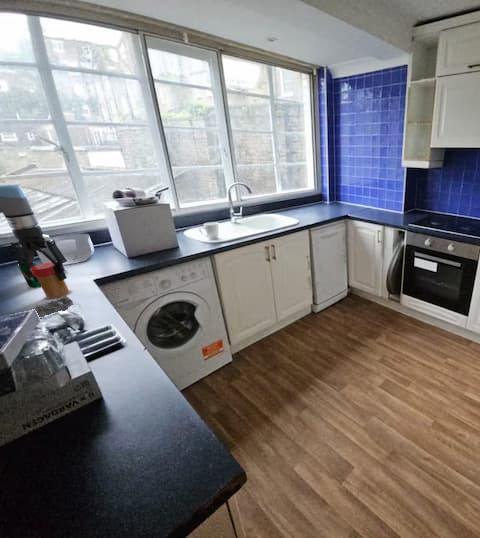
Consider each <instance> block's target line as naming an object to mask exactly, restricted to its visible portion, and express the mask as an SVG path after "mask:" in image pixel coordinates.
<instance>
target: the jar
mask: <svg viewBox="0 0 480 538" xmlns="http://www.w3.org/2000/svg"><path fill="white" fill-rule="evenodd" d="M37 279H38V281H39V283H40V285H41V286H40V287H41V289H42V291H43V293H44V295H45V297H46V299H48V300H54V299H55V300H56V299H60V298H62V297H64V296H68V295H69V294H70V293H71V292H70V290H69V288H68V286H67V283H66V281H65V279H64V280H63V281H60V280H59V278H58V276H57V274H56V273H55V274H51V275H47V276H41V277H37Z"/></svg>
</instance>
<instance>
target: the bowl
mask: <svg viewBox="0 0 480 538" xmlns="http://www.w3.org/2000/svg"><path fill="white" fill-rule="evenodd" d="M51 239H54V240H55V243H56V246H57V247H58V248H59V250H60V251H61V253H62V254H63V256H64V257H65V259H66V260H67V261H66V262H65V263H63V264H62V265H63V266H65V265H71V264H76V263H81V262H84V261H86V260H88V259H90V258H92V256H93V255H94V253H95V248H94V244H93V242H92V239H91V237H90V234H88V233H76V234H67V235H61V236H56V237H52V238H50V240H51Z"/></svg>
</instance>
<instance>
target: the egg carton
mask: <svg viewBox="0 0 480 538" xmlns="http://www.w3.org/2000/svg"><path fill="white" fill-rule="evenodd" d="M71 305H74V301H73V300H72V299H71V298H70V297H68V295H65V296H63V297H60V298H55V300H54V299H51V300H50V301H47V302H45V303H41V304H36V305H34V306H33V307H32V308H31V309H30V311H32V309H35V310H36V311H37V313H38V315H39V317H44V316H45V315H49V314H51V313H54V312H58V311H61V310H65V311H67V310H66V309H68V307H70V306H71Z"/></svg>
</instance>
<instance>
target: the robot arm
mask: <svg viewBox="0 0 480 538" xmlns="http://www.w3.org/2000/svg"><path fill="white" fill-rule="evenodd" d="M0 214H3V216H4V218H5V219H6V221H7V224H8V225H9V228H11V229H12V230H11V232H12V233H13V236H14V237H15V239H16V240H17V241H13V242H11V243H10V246H11V247H12V248H13V251H14V254H15V259H16V260H17V266H18V265H19V266H20V267H22V266H23V267H26V268H27V270H28V272H29V273H30V275H32V276H33V274H32V272H31V270H30V268H31V267H33V265H34V266H36V265H37V264H36V263H35V264H36V265H35V264H33V263H34V262H35V261H34V260H35V259H34V258H35V251H36V250H38V251H39V252H41V253H43V254H44V255H45V256H46V257H47V258H48V259H49V260H50V261H51V262H52V263H53V264H54V266H53V268H54V270H55V272H56V274H57V276H58V278H59V280H60V281H63V280H64V281H65V280H66V279H68V277H67V275H66V274H65V273H66V269H65V267H64V265H62V264H63V263H65V262H66V261H67V260H66V259H65V257H64V256H63V254H62V253H61V251H60V250H59V248H58V247H57V246H56V243H55V240H54V239H52V238H50V239H51V240H46V239H45V238H44V237H43V234H44V232H43V229H42V228H41V226H40V225H39V221H38V219H37V216H36V215H35V213H34V211H33V209H32V206H31V205H30V202H29V200H28V196H27V195H26V193H25V191H24V190H23V189H22V187H21V186H20V185H17V184H5V185H0ZM43 248H44V249H43ZM64 271H65V273H64ZM33 278H34V280H35V282H36V283H38V282H39V281H38V279H37V277H34V276H33Z"/></svg>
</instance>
